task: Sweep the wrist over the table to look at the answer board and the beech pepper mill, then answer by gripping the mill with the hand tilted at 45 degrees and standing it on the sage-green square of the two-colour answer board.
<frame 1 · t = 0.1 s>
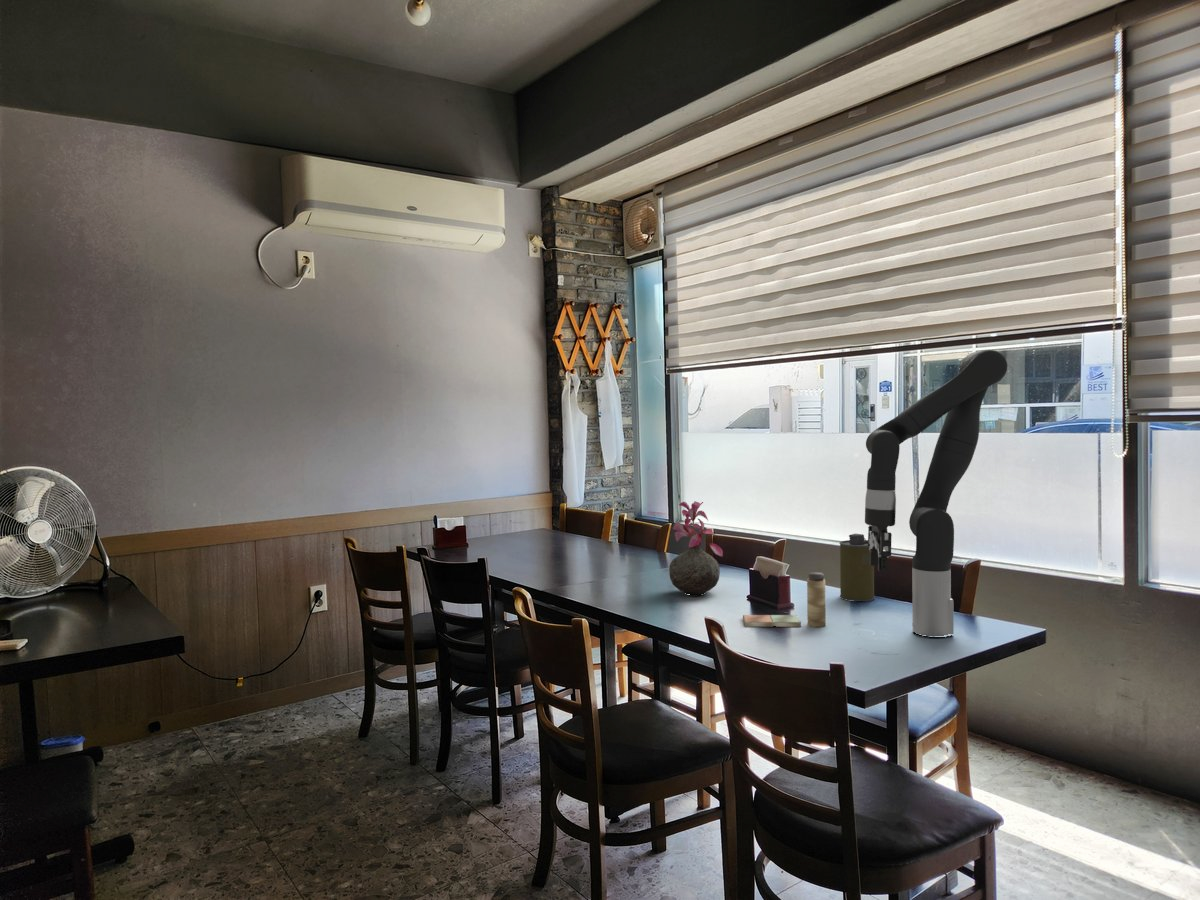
hand: (878, 568, 206), 17 cm above the table, tool pointing down, fingers open, 8 cm apart
vase: (696, 594, 256), on the table
pepper mill: (816, 624, 216), on the table
canister: (857, 598, 246), on the table
answer board: (771, 622, 220), on the table
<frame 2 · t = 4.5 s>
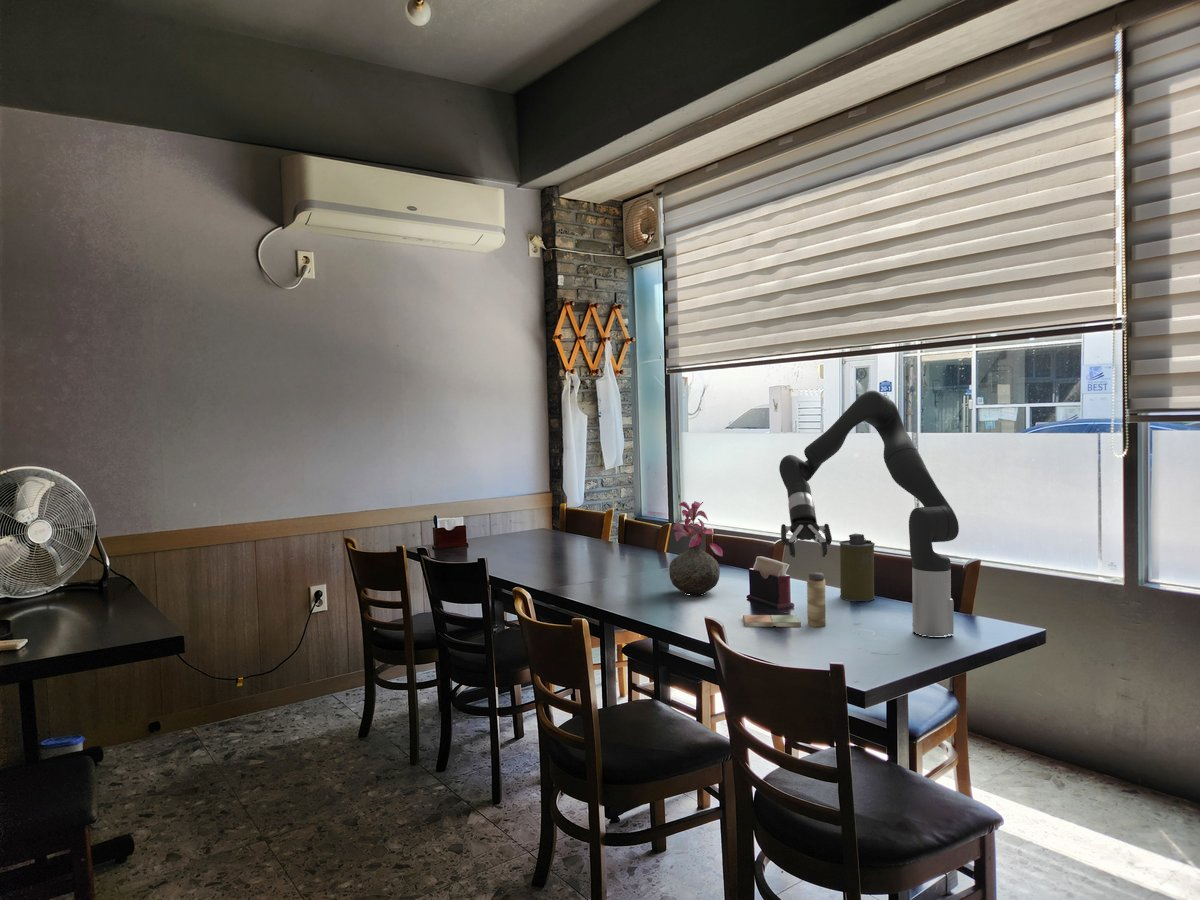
hand: (808, 555, 227), 17 cm above the table, tool tilted 45°, fingers open, 8 cm apart
nothing on the table moved.
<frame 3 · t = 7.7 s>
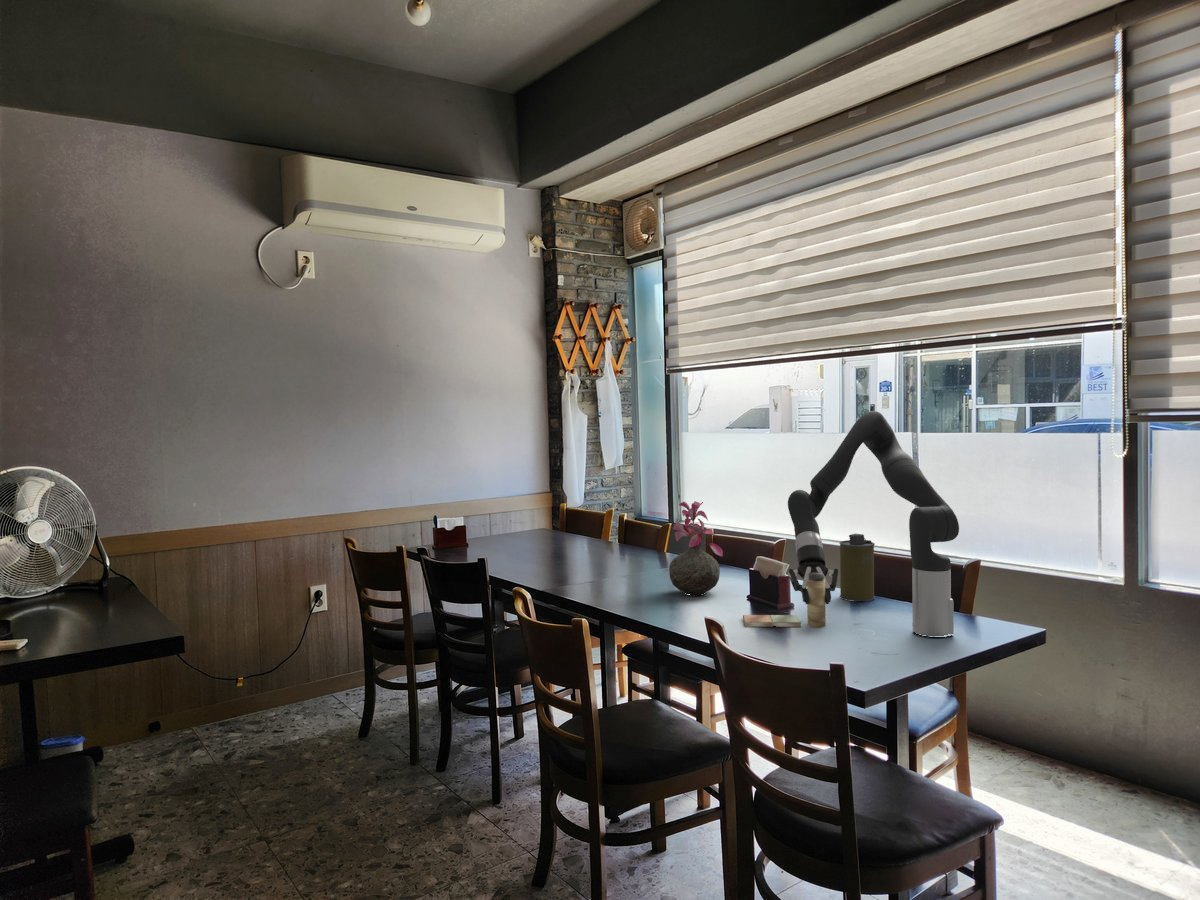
hand: (817, 602, 214), 7 cm above the table, tool tilted 45°, fingers closed on pepper mill, 4 cm apart
pepper mill: (816, 624, 216), on the table, touching gripper
everything else where it was.
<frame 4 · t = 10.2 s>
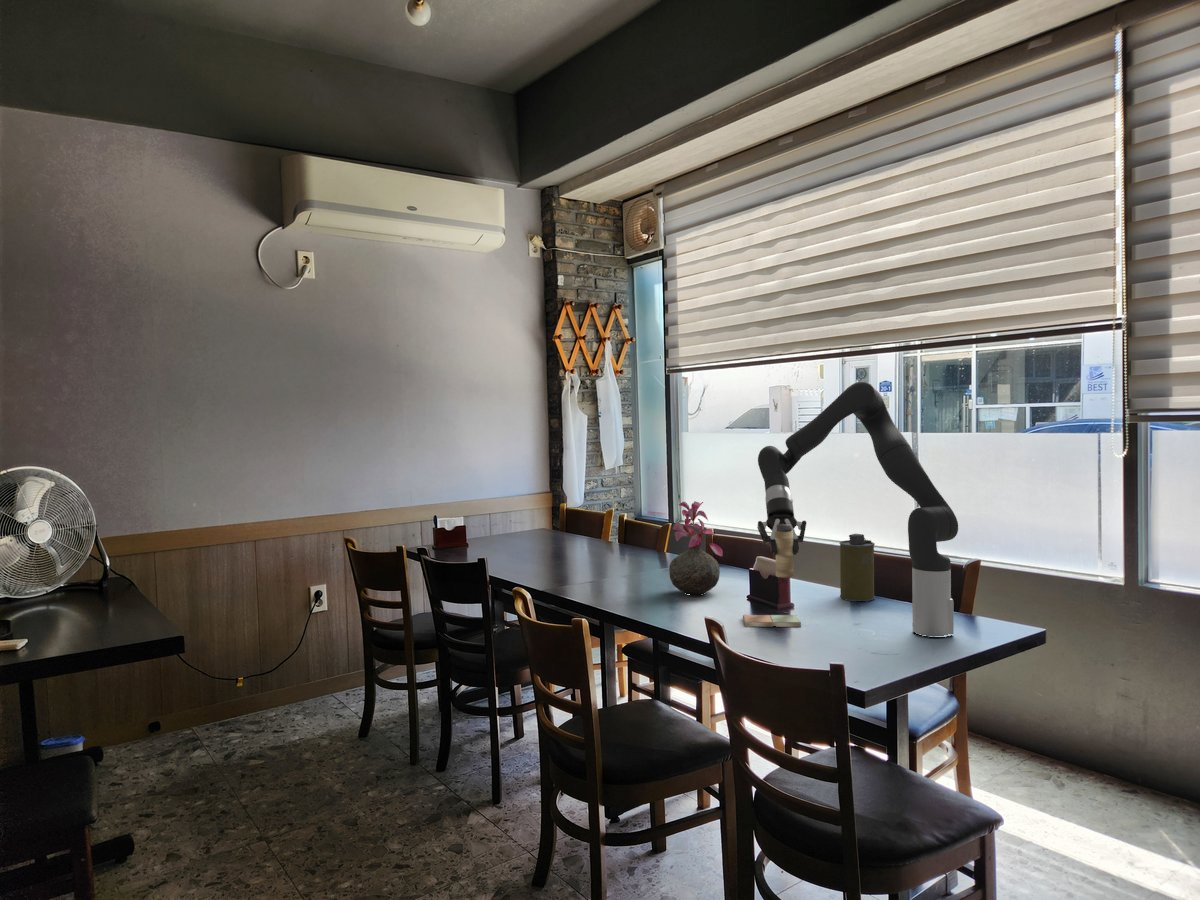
hand: (785, 553, 217), 20 cm above the table, tool tilted 45°, fingers closed on pepper mill, 4 cm apart
pepper mill: (784, 575, 219), point 13 cm above the table, touching gripper
everything else where it was.
when the fingers open (9 cm above the table, at t = 12.6 s): pepper mill stays where it is, resting on answer board.
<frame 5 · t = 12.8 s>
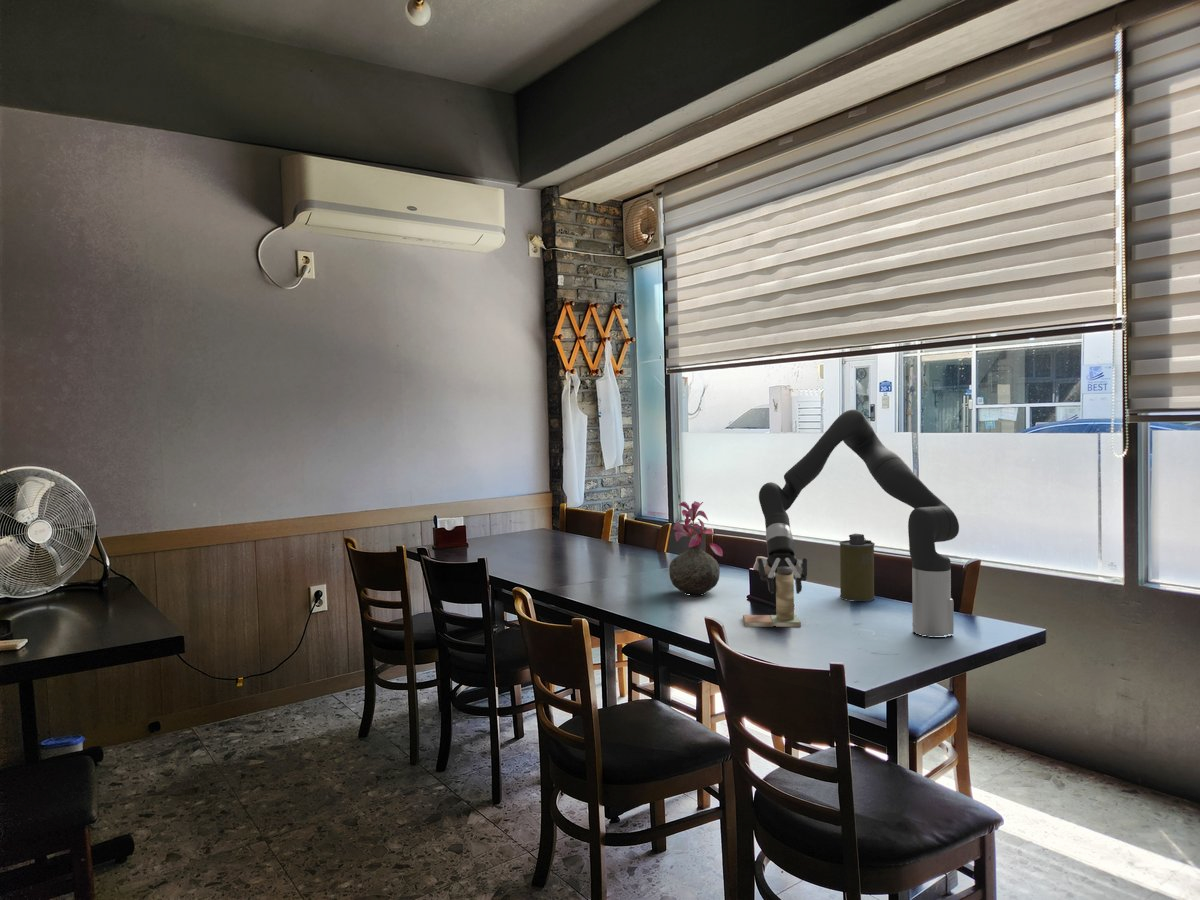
hand: (785, 592, 217), 9 cm above the table, tool tilted 45°, fingers open, 6 cm apart
pepper mill: (785, 618, 219), point 1 cm above the table, touching answer board
everything else where it was.
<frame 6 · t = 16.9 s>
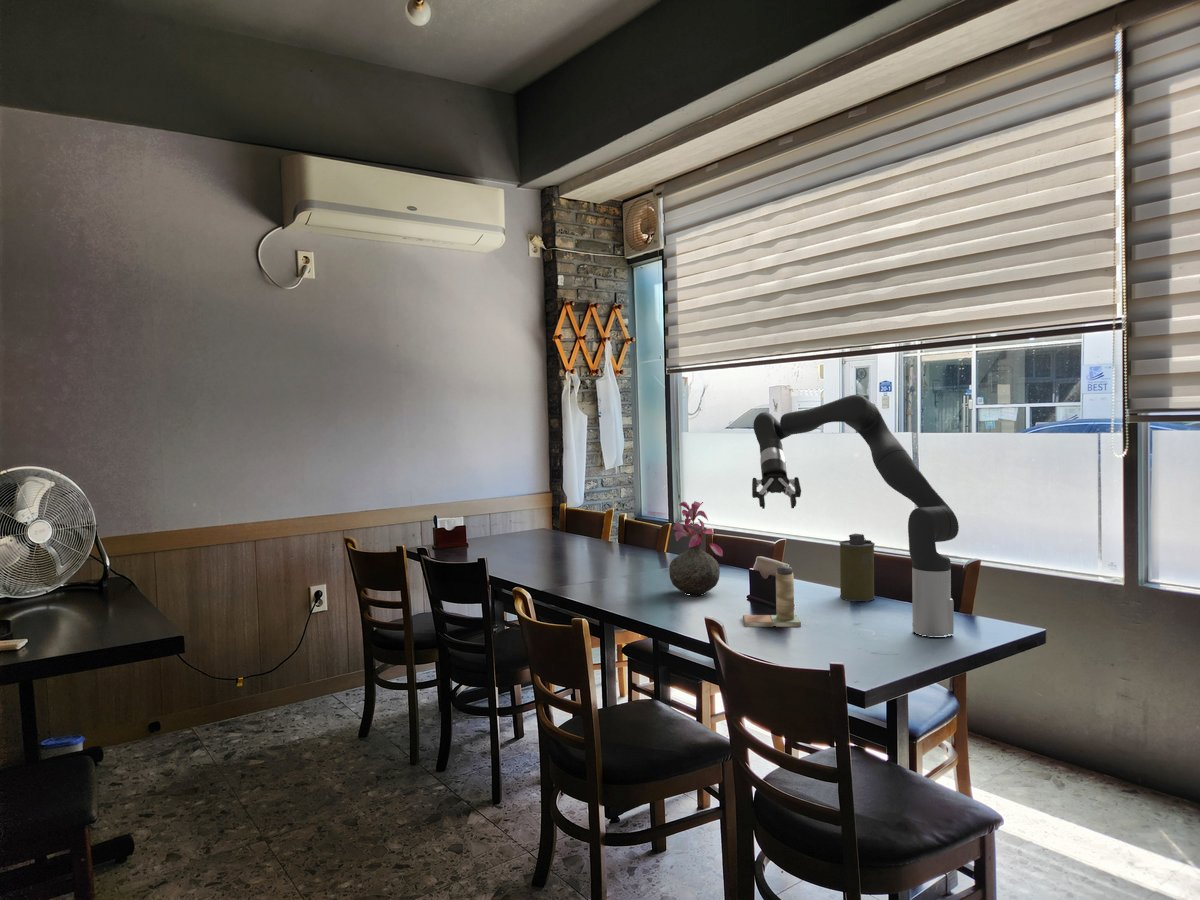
hand: (778, 506, 232), 31 cm above the table, tool tilted 45°, fingers open, 8 cm apart
nothing on the table moved.
at the end: pepper mill inside the target area (0.2 cm from its centre), point 1.2 cm above the table; pepper mill tilted 1°; the gripper is holding nothing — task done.
